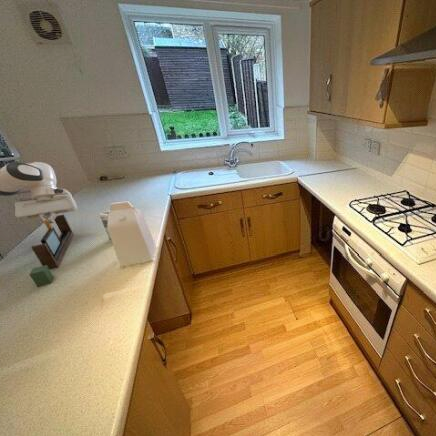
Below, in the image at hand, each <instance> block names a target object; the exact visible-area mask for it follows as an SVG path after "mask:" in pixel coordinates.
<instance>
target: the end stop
mask: <svg viewBox="0 0 436 436" xmlns="http://www.w3.org/2000/svg"><path fill="white" fill-rule="evenodd" d="M28 275H29V277H30V278H31V279H32V281H33V282H34V284H35V285H36V287H41V286H45V285H49V284H52V283H53V280H54V278H55V276H54V274H53V273H52V271H51V270H50V269H49V268H48V266H47V265H44V266H43V265H41V266H37V267H33V268H32V269H31V270H30V272H29V274H28Z"/></svg>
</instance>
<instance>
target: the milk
mask: <svg viewBox="0 0 436 436" xmlns="http://www.w3.org/2000/svg"><path fill="white" fill-rule="evenodd" d="M109 210H110V212H109V217H108V223H107V228H108V232H109V235H110V238H111V241H110V242H111V243H112V246H113V249H114V252H115V255H116V258H117V262H118V264H119V267H120V268H122V267H128V266H132V265H133V266H134V265H138V264H139V265H140V263H139V262H142V263H147V262H153V261H154V260H153V259H154V256H155V252H156V250H157V245H156V243H155V240H154V238H153V236H152V233H151V230H150V227H149V225H148V223H147V220H146V218H145V215H144V213H143V212H142V211H141V210H140V209H138V208H137V207H135V206H134V205H133V204H132V203H131V202H130V201H129V200H125V201H117V202H116V201H115V202H111V203H110V204H109ZM145 261H147V262H145ZM135 263H137V264H135ZM142 263H141V264H142ZM130 264H132V265H130Z"/></svg>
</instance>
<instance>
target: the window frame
mask: <svg viewBox="0 0 436 436" xmlns="http://www.w3.org/2000/svg"><path fill="white" fill-rule="evenodd" d="M54 222H55V224H56V227H57V229H58V230H59V232H60V235H58V237H59V238H60V240H61V242H62V243H61V245H60V247H59V249H58V251H57V253H56V255H55V257H53V255H52V253H51V251H50V250H49V248H48V246H47V245H46V243H44V244H42V243H40V244H36V245H32V246H31V250H32V251H33V253H34V254H35V256H36V257H37V259H38V260H39V263H40V264H41V266H44V265H47V266H48V268H49V269H50V271H51V270H55V269H59V267H60V265H61V263H62V261H63V259H64V256H65V255H66V252H67V250H68V247H69V246H70V244H71V242H72V240H73V237H74V236H75V235H74V234H75V233H74V231H73V230H72V228H71V226H70V223H69V222H68V219H67V217H66V215H65V213H62V214H57V216H56V218H55V220H54Z"/></svg>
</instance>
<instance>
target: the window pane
mask: <svg viewBox="0 0 436 436" xmlns="http://www.w3.org/2000/svg"><path fill="white" fill-rule="evenodd" d="M44 223H45V224H44ZM43 224H44V225H45V227H46V228H47V230H46V232H45V233H44V235H43V236H42V238H41V240H40V244H44V243H46V245H47V246H48V248H49V250H50V251H51V253H52V255H53V257H55V255H56V253H57V251H58V249H59V247H60V245H61V243H62V242H61V240H60V238H59V235H58V233H57V231H56V229H55V227H54V226H53V225H52V223H50V222H49V220H45V221H44V220H43Z"/></svg>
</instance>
